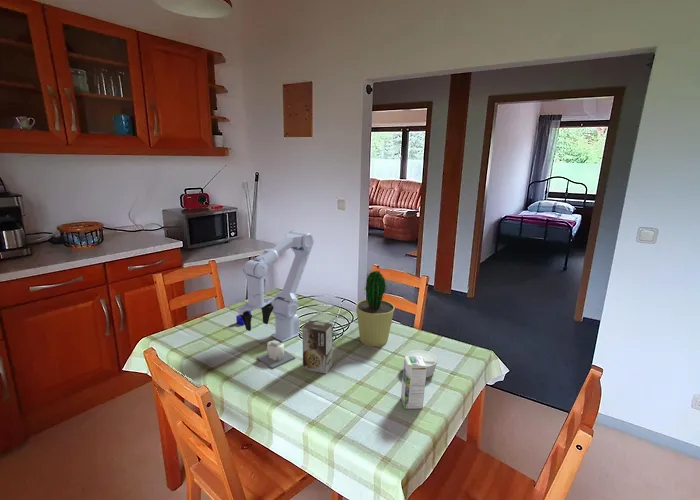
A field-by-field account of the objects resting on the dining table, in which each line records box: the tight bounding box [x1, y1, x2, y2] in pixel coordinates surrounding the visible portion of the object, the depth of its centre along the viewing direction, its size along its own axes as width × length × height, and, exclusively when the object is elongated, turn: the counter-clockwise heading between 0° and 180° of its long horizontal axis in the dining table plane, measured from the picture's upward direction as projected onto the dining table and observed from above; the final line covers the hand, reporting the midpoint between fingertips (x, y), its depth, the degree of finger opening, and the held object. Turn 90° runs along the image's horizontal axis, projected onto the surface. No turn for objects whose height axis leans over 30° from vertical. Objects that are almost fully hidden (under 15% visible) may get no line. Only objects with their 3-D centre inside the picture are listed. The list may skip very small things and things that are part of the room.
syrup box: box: [400, 356, 427, 410], centre depth 112 cm, size 6×6×14 cm
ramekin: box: [404, 349, 438, 379], centre depth 131 cm, size 11×11×5 cm
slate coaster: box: [256, 350, 296, 370], centre depth 137 cm, size 10×10×1 cm
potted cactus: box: [355, 270, 396, 347], centre depth 149 cm, size 15×15×30 cm
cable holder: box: [235, 311, 252, 327], centre depth 166 cm, size 8×4×4 cm, turn 160°
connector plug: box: [266, 339, 285, 361], centre depth 136 cm, size 4×7×6 cm, turn 60°
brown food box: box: [301, 320, 334, 375], centre depth 130 cm, size 9×6×16 cm
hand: (257, 326), depth 140 cm, fingers open, 7 cm apart
